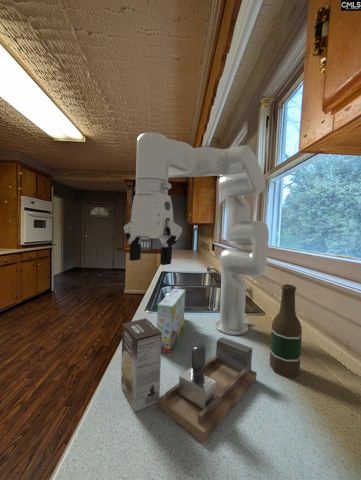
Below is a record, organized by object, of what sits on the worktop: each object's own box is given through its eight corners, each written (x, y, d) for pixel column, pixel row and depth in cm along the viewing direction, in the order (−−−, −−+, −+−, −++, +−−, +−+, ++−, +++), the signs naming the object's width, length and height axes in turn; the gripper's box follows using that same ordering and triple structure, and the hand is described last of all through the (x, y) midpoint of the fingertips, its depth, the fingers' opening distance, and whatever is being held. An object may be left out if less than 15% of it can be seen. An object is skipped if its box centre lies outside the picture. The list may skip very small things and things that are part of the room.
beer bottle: (301, 381, 60) (307, 290, 59) (269, 373, 63) (274, 287, 62) (297, 365, 68) (302, 284, 66) (269, 359, 70) (273, 281, 69)
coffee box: (119, 387, 56) (121, 322, 55) (144, 378, 59) (145, 317, 59) (133, 413, 48) (135, 338, 47) (161, 402, 52) (163, 331, 51)
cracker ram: (190, 384, 54) (191, 338, 54) (215, 399, 50) (217, 349, 49) (178, 393, 51) (180, 344, 51) (204, 410, 47) (206, 357, 46)
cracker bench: (216, 361, 68) (217, 335, 68) (256, 379, 60) (257, 350, 60) (157, 408, 50) (158, 372, 50) (203, 442, 42) (204, 400, 42)
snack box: (172, 354, 72) (173, 306, 71) (154, 351, 73) (156, 304, 72) (184, 326, 92) (185, 288, 92) (170, 324, 94) (172, 287, 93)
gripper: (191, 190, 53) (188, 264, 53) (136, 194, 62) (135, 257, 63) (172, 183, 46) (169, 268, 47) (114, 189, 56) (112, 259, 57)
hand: (149, 262), depth 55 cm, fingers open, 9 cm apart
